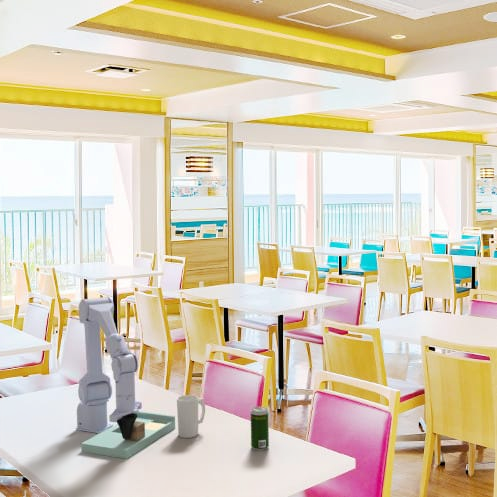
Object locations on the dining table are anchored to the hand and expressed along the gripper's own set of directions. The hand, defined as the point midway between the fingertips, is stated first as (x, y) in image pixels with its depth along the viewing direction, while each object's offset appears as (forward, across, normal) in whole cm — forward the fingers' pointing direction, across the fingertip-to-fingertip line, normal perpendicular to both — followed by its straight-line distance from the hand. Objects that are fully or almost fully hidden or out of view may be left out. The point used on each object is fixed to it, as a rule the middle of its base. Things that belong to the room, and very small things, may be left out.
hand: (126, 438), depth 215 cm
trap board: (+4, +9, +4) cm, 10 cm away
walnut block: (+1, +4, 0) cm, 4 cm away
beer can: (+4, +16, -37) cm, 40 cm away
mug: (+4, +20, -12) cm, 24 cm away
